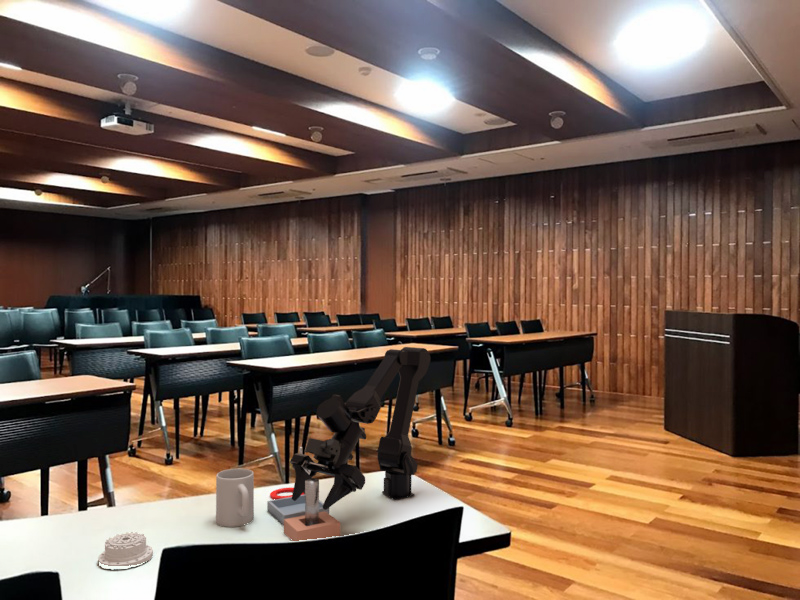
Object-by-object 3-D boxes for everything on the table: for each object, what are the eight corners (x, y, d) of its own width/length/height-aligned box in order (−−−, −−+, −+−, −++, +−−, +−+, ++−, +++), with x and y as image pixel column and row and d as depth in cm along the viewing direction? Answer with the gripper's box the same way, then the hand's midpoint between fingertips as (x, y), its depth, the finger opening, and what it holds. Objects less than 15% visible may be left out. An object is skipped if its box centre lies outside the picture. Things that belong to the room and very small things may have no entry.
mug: (211, 518, 149) (211, 471, 148) (246, 511, 153) (246, 466, 153) (227, 535, 139) (227, 485, 138) (264, 527, 143) (265, 479, 143)
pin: (315, 530, 141) (315, 477, 141) (320, 535, 139) (321, 481, 139) (302, 533, 140) (303, 479, 140) (308, 538, 137) (308, 483, 137)
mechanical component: (159, 549, 131) (109, 550, 131) (159, 528, 131) (109, 529, 131) (143, 571, 122) (89, 572, 121) (143, 548, 121) (89, 549, 121)
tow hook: (266, 502, 161) (302, 501, 161) (264, 452, 161) (300, 451, 160) (274, 492, 169) (309, 491, 169) (272, 443, 169) (307, 443, 169)
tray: (310, 503, 159) (310, 493, 159) (329, 517, 150) (329, 507, 150) (267, 511, 153) (267, 501, 153) (284, 526, 144) (284, 515, 144)
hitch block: (325, 524, 145) (325, 511, 145) (340, 536, 139) (340, 522, 138) (283, 532, 140) (283, 519, 140) (297, 545, 133) (297, 531, 133)
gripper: (295, 418, 148) (259, 476, 139) (357, 429, 137) (322, 493, 128) (318, 445, 154) (285, 502, 145) (379, 458, 143) (347, 520, 135)
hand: (308, 504), depth 138 cm, fingers open, 9 cm apart
